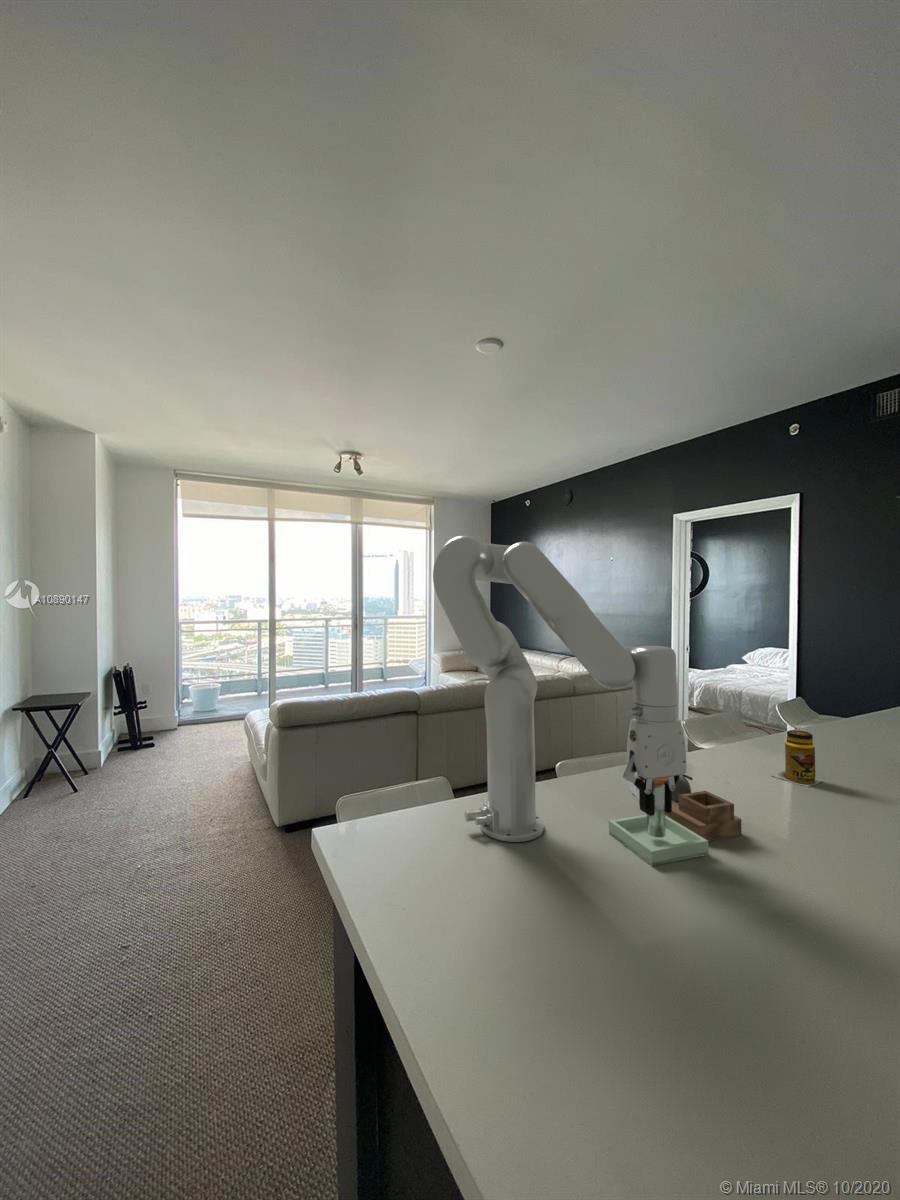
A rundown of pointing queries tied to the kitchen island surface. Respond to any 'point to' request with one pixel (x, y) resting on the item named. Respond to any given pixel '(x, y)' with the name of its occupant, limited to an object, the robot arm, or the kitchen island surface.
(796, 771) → the condiment
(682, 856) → the tray
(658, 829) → the lock pin
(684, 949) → the kitchen island surface
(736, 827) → the brown wooden stepped holder
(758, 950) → the kitchen island surface
